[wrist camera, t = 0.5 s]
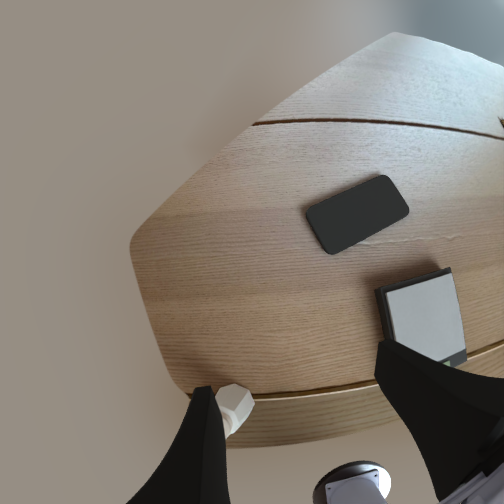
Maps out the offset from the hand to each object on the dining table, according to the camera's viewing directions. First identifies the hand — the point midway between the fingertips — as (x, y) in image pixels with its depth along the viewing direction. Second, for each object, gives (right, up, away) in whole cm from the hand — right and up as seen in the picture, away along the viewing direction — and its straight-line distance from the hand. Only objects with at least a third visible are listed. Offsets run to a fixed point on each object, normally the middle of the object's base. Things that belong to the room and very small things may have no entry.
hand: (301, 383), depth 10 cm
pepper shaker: (-4, -14, +23) cm, 27 cm away
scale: (+21, -5, +22) cm, 31 cm away
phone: (+13, +11, +28) cm, 33 cm away
